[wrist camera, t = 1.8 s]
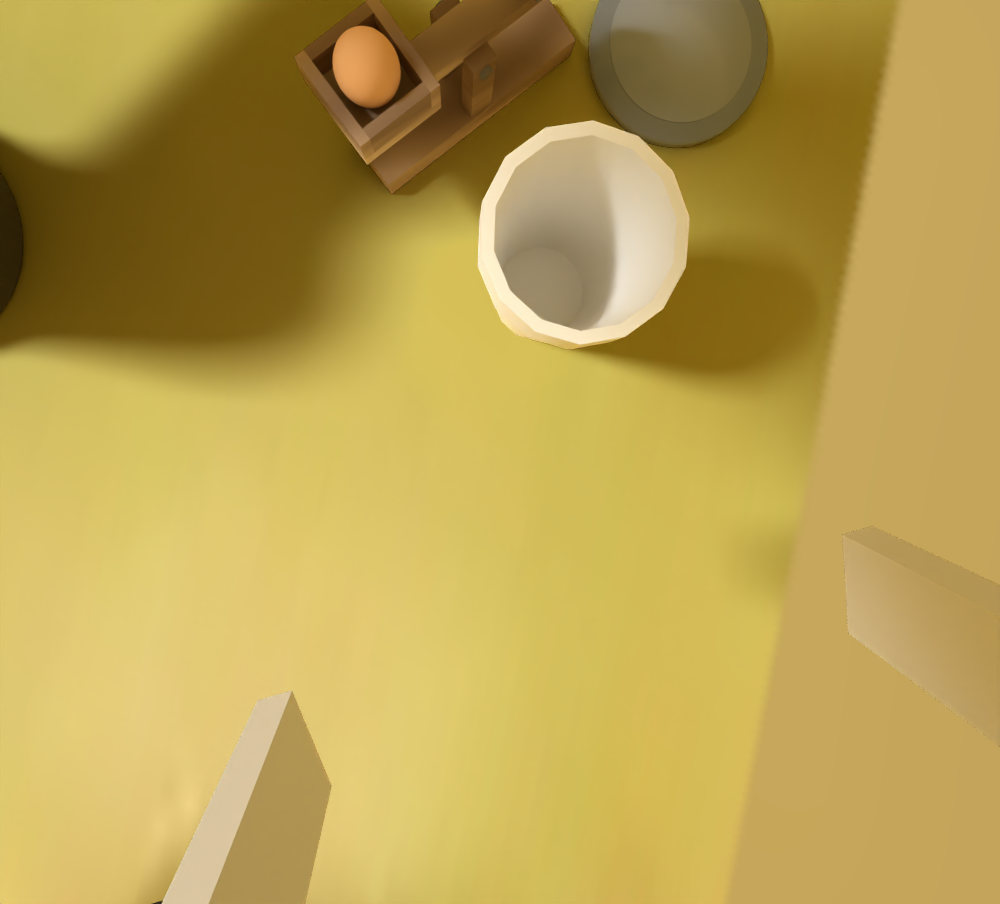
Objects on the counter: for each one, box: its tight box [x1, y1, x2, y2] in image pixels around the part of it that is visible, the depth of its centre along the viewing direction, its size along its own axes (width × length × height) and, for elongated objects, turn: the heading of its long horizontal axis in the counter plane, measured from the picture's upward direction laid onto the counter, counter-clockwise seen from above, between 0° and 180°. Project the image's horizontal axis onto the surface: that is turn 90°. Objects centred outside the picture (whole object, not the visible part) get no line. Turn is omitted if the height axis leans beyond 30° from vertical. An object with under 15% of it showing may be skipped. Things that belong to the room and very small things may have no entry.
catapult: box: [294, 0, 576, 194], centre depth 29 cm, size 5×16×9 cm, turn 128°
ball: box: [332, 26, 401, 108], centre depth 25 cm, size 3×3×3 cm
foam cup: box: [478, 120, 690, 350], centre depth 29 cm, size 10×9×13 cm
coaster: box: [588, 0, 768, 148], centre depth 34 cm, size 12×12×1 cm
